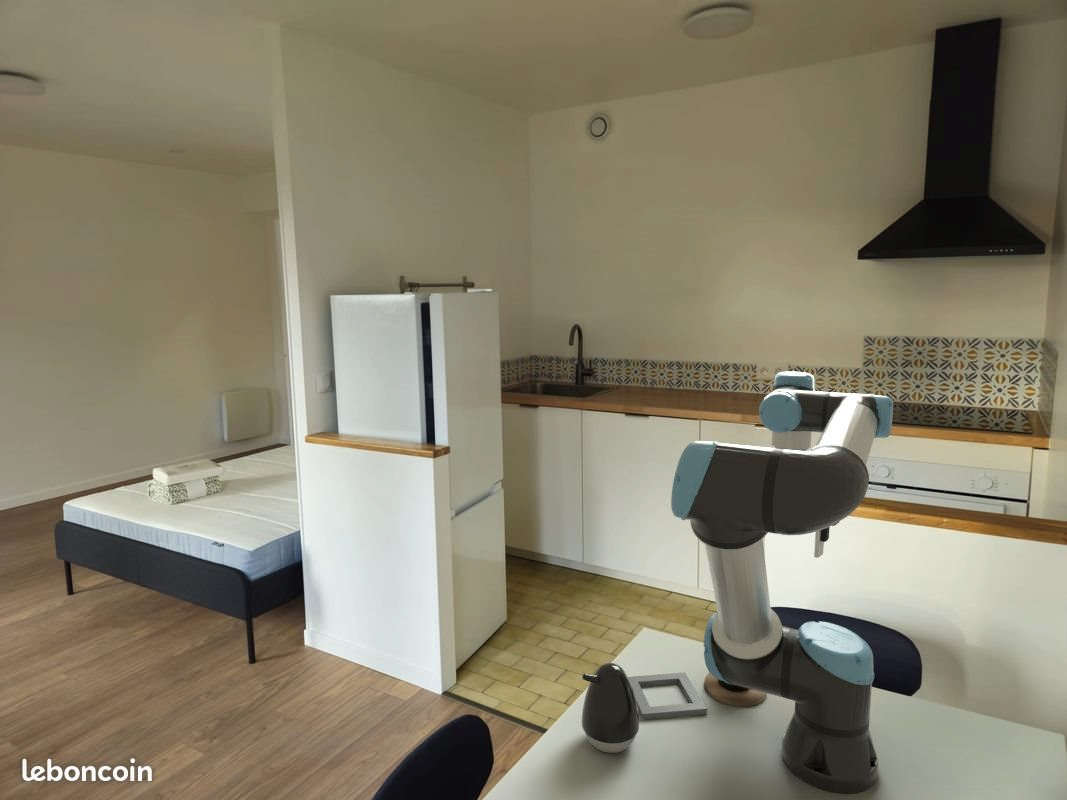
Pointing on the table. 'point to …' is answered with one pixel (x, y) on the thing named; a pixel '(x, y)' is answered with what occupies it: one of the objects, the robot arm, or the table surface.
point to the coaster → (732, 694)
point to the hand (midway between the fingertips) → (785, 547)
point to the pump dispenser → (610, 709)
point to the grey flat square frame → (667, 711)
